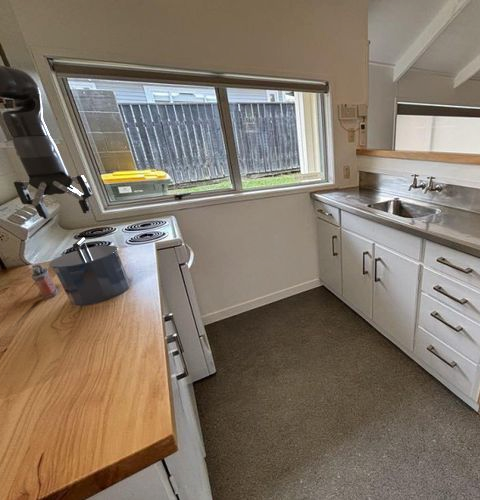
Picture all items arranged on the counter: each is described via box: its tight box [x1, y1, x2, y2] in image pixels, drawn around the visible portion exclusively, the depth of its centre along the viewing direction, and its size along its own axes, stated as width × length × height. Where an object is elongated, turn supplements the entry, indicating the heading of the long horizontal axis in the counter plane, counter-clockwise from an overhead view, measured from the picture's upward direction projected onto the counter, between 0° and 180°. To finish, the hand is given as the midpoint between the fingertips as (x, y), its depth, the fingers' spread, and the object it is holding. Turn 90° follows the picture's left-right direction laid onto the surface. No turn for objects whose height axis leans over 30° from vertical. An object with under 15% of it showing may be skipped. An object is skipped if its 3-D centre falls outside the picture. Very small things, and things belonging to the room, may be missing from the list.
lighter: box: [31, 263, 59, 300], centre depth 88 cm, size 8×3×10 cm, turn 40°
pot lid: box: [48, 237, 119, 269], centre depth 84 cm, size 16×16×6 cm
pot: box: [53, 251, 131, 307], centre depth 87 cm, size 15×20×12 cm
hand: (67, 215), depth 80 cm, fingers open, 8 cm apart
